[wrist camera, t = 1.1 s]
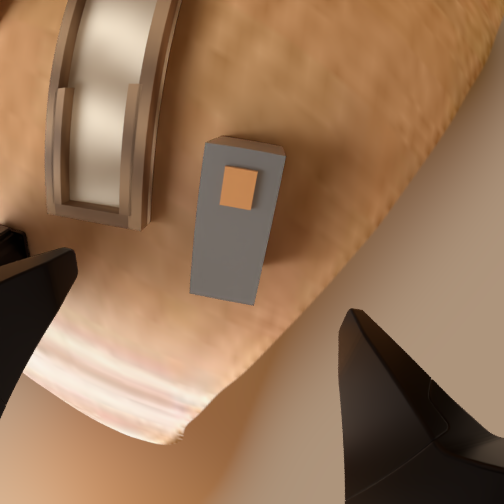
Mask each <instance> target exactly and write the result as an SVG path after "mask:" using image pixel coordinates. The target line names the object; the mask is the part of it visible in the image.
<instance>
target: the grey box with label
mask: <svg viewBox="0 0 504 504" xmlns="http://www.w3.org/2000/svg"><path fill="white" fill-rule="evenodd" d="M285 159H286V155H285V152H284V149H283V146H278V145H273V144H268V143H262V142H257V141H251V140H245V139H239V138H233V137H226V136H220V137H218V138H215V139H213V140H210V141H208V142H205V149H204V156H203V163H202V171H201V178H200V187H199V195H198V204H197V213H196V222H195V232H194V243H193V254H192V266H191V279H190V293H191V294H195V295H200V296H205V297H210V298H215V299H221V300H226V301H231V302H237V303H242V304H248V305H253V306H254V302H255V298H256V293H257V289H258V284H259V280H260V275H261V271H262V266H263V262H264V257H265V253H266V248H267V244H268V239H269V234H270V230H271V225H272V220H273V216H274V211H275V206H276V202H277V197H278V192H279V188H280V183H281V178H282V173H283V168H284V164H285Z"/></svg>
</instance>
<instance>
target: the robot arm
mask: <svg viewBox="0 0 504 504" xmlns="http://www.w3.org/2000/svg"><path fill="white" fill-rule="evenodd" d="M77 274H78V268H77V262H76V255H75V252H74V250H72V249H69V248H60V249H56V250H53V251H49V252H46V253H42V254H39V255H36V256H32V257H30V256H29V251H28V245H27V240H26V235H25V233H24V232H22V231H18V230H14V229H10V228H9V227H6V226H2V225H0V418H1V416H2V413H3V411H4V409H5V407H6V404H7V402H8V400H9V398H10V396H11V394H12V392H13V390H14V388H15V386H16V383H17V382H18V380H19V378H20V376H21V374H22V372H23V370H24V368H25V366H26V365H27V363H28V361H29V359H30V357H31V356H32V354H33V352H34V350H35V349H36V347H37V345H38V343H39V342H40V340H41V338H42V337H43V335H44V333H45V332H46V330H47V328H48V327H49V325H50V324H51V322H52V320H53V319H54V317H55V316H56V314H57V312H58V311H59V309H60V307H61V305H62V303H63V302H64V300H65V298H66V296H67V294H68V292H69V290H70V289H71V287H72V285H73V283H74V281H75V280H76V278H77ZM338 354H339V355H338V356H339V357H338V358H339V359H338V363H339V364H338V378H339V391H340V402H341V415H342V429H343V446H344V469H345V500H346V501H345V504H504V438H501V437H498V436H495V435H493V434H491V433H490V432H488V431H487V430H486V429H485V428H484V427H483V426H482V425H481V424H479V423H478V422H477V421H476V420H475V419H474V418H473V417H472V416H470V415H469V414H468V413H467V412H466V411H465V410H464V409H463V408H461V407H460V406H459V405H458V404H457V403H456V402H455V401H454V400H453V399H452V398H451V397H450V396H449V395H448V394H446V392H445V391H443V389H442V388H441V387H439V385H437V383H436V382H435V381H434V380H431V377H429V375H428V374H427V373H426V372H425V371H424V370H423V369H422V368H421V367H420V366H419V365H418V364H417V363H416V362H415V361H414V360H413V359H412V358H411V357H410V356H409V355H408V354H407V353H406V352H405V351H404V350H403V349H402V348H401V347H400V346H399V345H398V344H397V343H396V342H395V341H394V340H393V339H392V338H391V337H390V336H389V335H388V334H387V333H386V332H385V331H384V330H382V328H380V327H379V326H378V325H377V324H376V323H375V322H374V321H373V320H372V319H371V318H370V317H369V316H368V315H367V314H366V313H365V312H364V311H363V310H359V309H353V308H351V309H349V311H348V312H347V314H346V316H345V318H344V321H343V323H342V325H341V327H340V330H339V353H338Z"/></svg>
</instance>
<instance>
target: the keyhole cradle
mask: <svg viewBox="0 0 504 504" xmlns="http://www.w3.org/2000/svg"><path fill="white" fill-rule="evenodd" d="M181 2H182V0H68V2H67V5H66V9H65V12H64V16H63V19H62V23H61V27H60V31H59V35H58V40H57V44H56V49H55V54H54V59H53V65H52V71H51V78H50V85H49V93H48V103H47V114H46V130H45V186H46V203H47V214H51V215H56V216H62V217H67V218H72V219H78V220H83V221H88V222H94V223H99V224H105V225H110V226H115V227H121V228H126V229H131V230H137V231H142V230H143V229H144V228H145V227H146V226H147V225H148V224H149V223H150V215H151V195H152V180H153V167H154V156H155V146H156V137H157V128H158V120H159V113H160V105H161V99H162V92H163V86H164V80H165V74H166V69H167V63H168V58H169V53H170V48H171V43H172V39H173V34H174V30H175V26H176V21H177V17H178V13H179V9H180V5H181Z"/></svg>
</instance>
